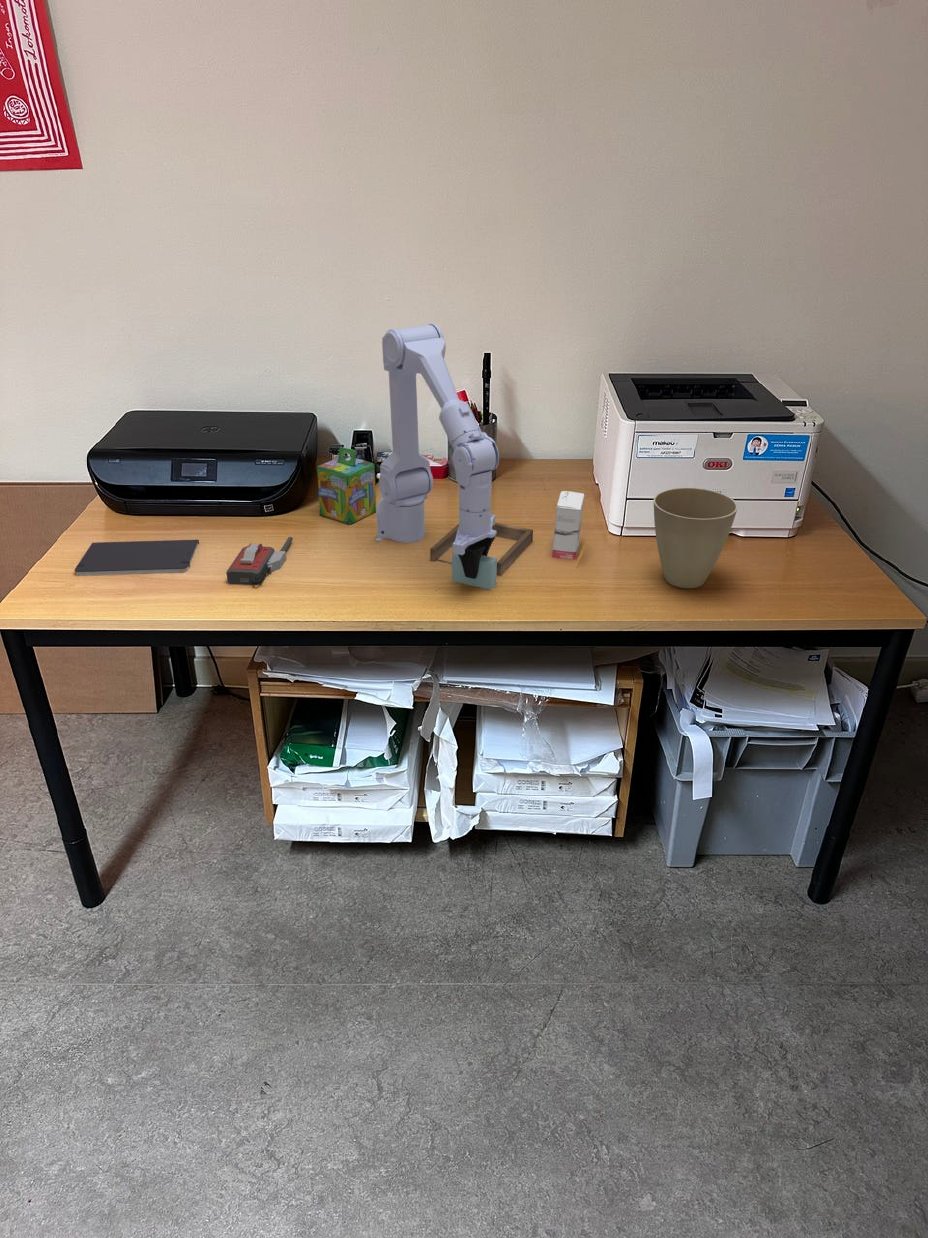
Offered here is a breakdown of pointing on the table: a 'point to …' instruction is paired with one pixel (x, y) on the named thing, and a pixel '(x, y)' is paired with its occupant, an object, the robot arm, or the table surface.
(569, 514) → the ink box
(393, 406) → the robot arm
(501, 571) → the rack
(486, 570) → the teal rectangular block
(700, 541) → the plant pot
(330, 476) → the chalk box
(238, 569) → the walkie-talkie
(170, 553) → the notebook
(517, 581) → the table surface
